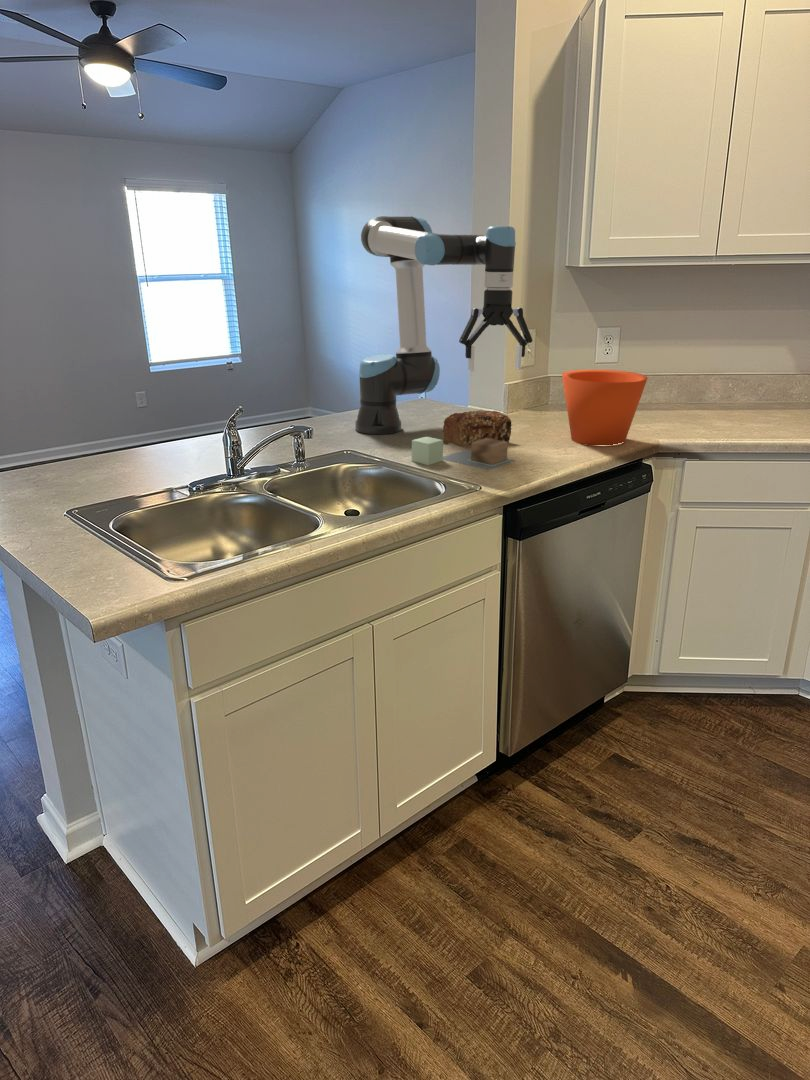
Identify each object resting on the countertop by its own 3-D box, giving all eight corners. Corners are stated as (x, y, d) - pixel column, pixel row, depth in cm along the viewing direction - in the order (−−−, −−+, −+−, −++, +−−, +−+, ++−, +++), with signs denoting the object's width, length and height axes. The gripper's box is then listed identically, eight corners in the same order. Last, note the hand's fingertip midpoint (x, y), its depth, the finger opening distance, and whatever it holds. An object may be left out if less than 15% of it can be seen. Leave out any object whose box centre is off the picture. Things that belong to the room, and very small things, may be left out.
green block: (411, 465, 203) (411, 440, 200) (425, 461, 207) (426, 436, 205) (428, 469, 199) (428, 443, 197) (442, 465, 203) (443, 440, 201)
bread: (459, 451, 218) (460, 417, 214) (441, 443, 227) (442, 410, 223) (512, 444, 226) (514, 411, 222) (493, 437, 235) (494, 405, 231)
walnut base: (470, 460, 203) (471, 442, 201) (486, 455, 208) (487, 437, 206) (491, 465, 199) (492, 446, 197) (506, 459, 204) (507, 442, 202)
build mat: (437, 462, 206) (438, 457, 205) (466, 453, 214) (466, 449, 214) (487, 474, 195) (487, 469, 194) (515, 464, 204) (516, 459, 203)
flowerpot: (571, 427, 246) (576, 367, 239) (648, 436, 235) (656, 373, 228) (545, 443, 226) (550, 377, 219) (628, 454, 215) (636, 385, 207)
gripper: (457, 290, 192) (454, 373, 200) (547, 289, 197) (542, 370, 205) (449, 288, 199) (447, 368, 207) (537, 288, 204) (532, 366, 212)
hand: (494, 369), depth 206 cm, fingers open, 13 cm apart
